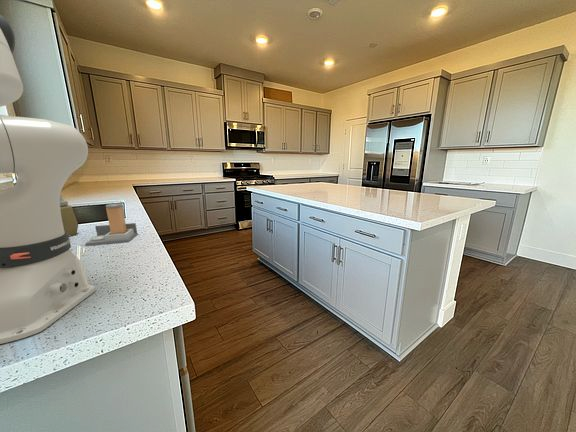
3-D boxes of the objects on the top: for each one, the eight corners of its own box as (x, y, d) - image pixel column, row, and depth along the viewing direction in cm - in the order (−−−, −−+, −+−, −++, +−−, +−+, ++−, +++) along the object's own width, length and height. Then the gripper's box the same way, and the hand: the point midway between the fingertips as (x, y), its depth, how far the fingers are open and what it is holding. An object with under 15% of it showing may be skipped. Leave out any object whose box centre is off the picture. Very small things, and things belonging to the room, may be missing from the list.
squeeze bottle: (68, 238, 97) (57, 194, 93) (48, 238, 97) (37, 194, 93) (85, 232, 105) (76, 191, 100) (67, 232, 105) (57, 191, 101)
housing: (128, 242, 91) (126, 229, 90) (85, 246, 88) (82, 232, 86) (137, 234, 101) (135, 223, 99) (98, 237, 97) (96, 225, 96)
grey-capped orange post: (125, 238, 93) (119, 205, 90) (109, 239, 91) (103, 206, 88) (129, 234, 97) (124, 203, 94) (115, 235, 96) (109, 203, 93)
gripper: (-82, 128, 62) (-14, 129, 66) (-11, 135, 81) (39, 136, 85) (-73, 153, 64) (-7, 152, 67) (-6, 154, 83) (43, 154, 86)
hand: (19, 143), depth 76 cm, fingers open, 8 cm apart
